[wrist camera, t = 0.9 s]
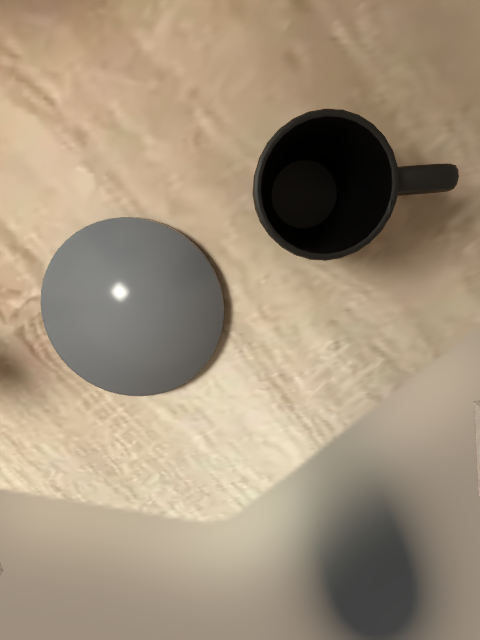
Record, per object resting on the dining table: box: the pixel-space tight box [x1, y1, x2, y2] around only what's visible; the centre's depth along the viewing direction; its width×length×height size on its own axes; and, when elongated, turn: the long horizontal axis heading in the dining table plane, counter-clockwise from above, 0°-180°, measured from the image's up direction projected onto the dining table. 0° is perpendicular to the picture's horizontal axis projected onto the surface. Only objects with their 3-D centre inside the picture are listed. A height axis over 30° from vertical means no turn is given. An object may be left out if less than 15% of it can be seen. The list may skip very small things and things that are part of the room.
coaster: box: [41, 217, 224, 396], centre depth 35 cm, size 15×15×1 cm
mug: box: [253, 109, 459, 261], centre depth 28 cm, size 8×12×10 cm
